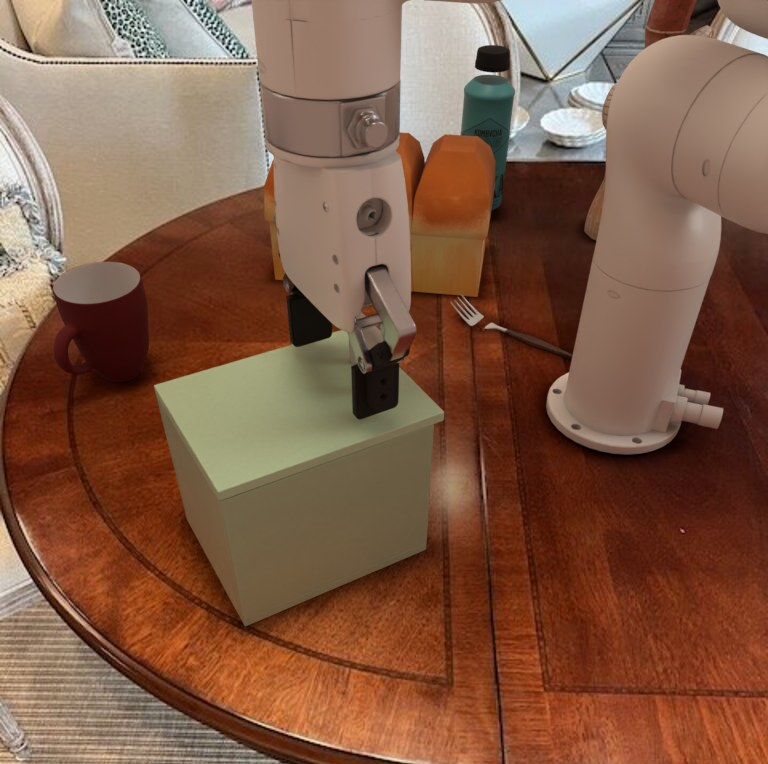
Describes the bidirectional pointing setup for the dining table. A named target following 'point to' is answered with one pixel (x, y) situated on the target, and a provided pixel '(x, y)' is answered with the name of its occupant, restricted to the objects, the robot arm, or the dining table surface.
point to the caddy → (309, 522)
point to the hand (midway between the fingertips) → (342, 374)
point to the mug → (103, 320)
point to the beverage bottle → (490, 109)
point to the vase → (662, 23)
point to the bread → (436, 212)
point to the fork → (509, 331)
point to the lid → (284, 413)
